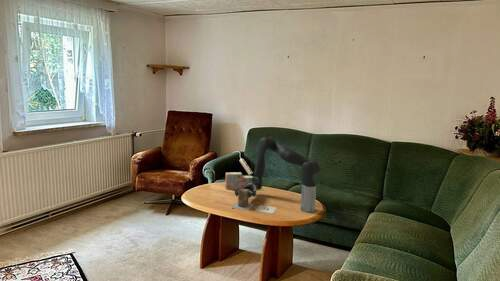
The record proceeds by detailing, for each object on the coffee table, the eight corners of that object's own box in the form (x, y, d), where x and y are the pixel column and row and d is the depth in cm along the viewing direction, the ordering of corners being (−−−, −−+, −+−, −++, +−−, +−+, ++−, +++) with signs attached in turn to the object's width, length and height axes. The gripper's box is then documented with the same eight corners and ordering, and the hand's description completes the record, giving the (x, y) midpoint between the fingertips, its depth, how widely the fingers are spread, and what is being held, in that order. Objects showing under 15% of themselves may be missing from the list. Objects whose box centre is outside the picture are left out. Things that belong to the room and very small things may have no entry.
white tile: (276, 208, 250) (276, 207, 249) (272, 214, 238) (272, 213, 238) (259, 206, 253) (259, 205, 253) (254, 211, 241) (255, 210, 241)
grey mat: (254, 205, 254) (254, 204, 254) (249, 210, 242) (249, 209, 242) (237, 203, 257) (237, 202, 257) (231, 208, 246) (231, 207, 246)
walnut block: (248, 205, 252) (248, 189, 250) (245, 207, 246) (246, 191, 245) (240, 203, 253) (241, 188, 251) (238, 206, 248) (238, 190, 246)
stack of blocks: (251, 186, 300) (251, 171, 298) (252, 188, 294) (253, 173, 292) (225, 187, 295) (225, 172, 293) (226, 189, 289) (226, 174, 287)
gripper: (240, 182, 263) (232, 188, 248) (259, 185, 260) (253, 191, 244) (239, 193, 265) (232, 199, 249) (259, 195, 261) (252, 202, 245)
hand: (242, 195), depth 247 cm, fingers open, 8 cm apart
